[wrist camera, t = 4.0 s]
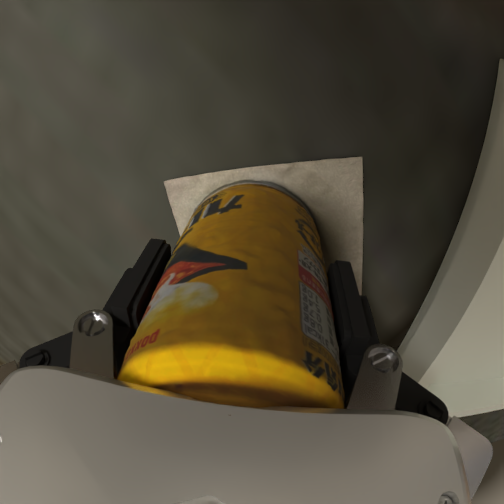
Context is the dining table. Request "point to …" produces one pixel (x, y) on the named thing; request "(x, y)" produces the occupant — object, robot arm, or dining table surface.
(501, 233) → the tray
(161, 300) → the condiment
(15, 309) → the dining table surface
